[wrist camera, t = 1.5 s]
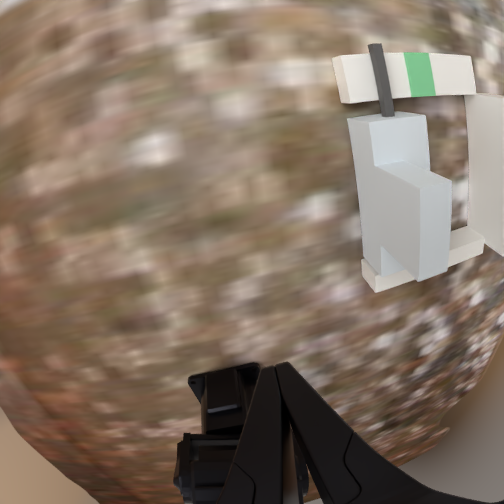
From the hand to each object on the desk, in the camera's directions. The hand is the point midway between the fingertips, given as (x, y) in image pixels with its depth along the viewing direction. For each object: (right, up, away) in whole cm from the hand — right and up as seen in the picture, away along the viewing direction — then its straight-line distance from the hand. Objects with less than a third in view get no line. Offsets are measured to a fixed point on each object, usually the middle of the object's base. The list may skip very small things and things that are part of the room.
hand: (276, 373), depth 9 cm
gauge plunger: (+8, +10, +10) cm, 16 cm away
